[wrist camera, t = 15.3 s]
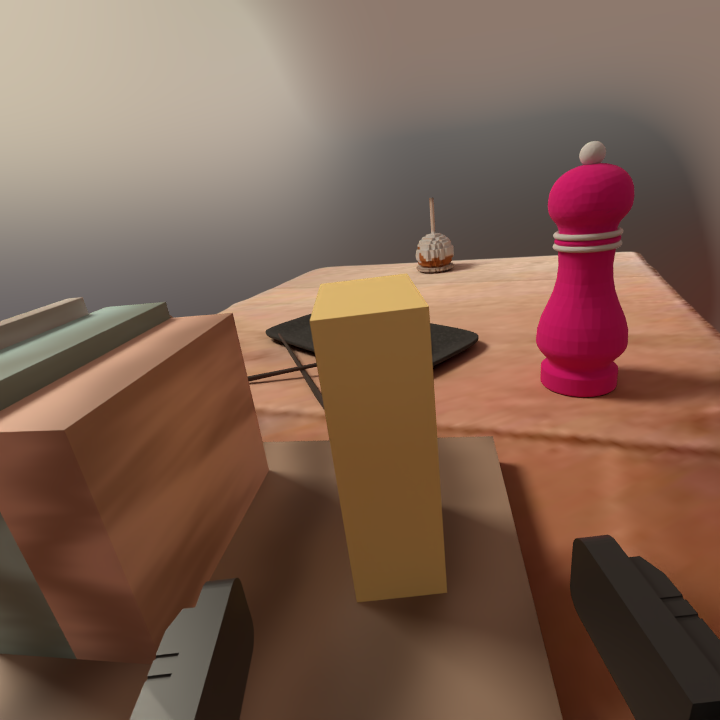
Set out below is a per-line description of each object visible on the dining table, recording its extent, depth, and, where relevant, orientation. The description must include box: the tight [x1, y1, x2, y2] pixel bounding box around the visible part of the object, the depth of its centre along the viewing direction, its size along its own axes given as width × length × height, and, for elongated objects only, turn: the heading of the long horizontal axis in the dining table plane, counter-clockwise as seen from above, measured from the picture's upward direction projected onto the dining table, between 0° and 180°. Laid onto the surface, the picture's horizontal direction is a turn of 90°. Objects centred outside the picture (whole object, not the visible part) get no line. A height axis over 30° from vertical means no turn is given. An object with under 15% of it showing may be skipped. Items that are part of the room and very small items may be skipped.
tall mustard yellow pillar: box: [310, 274, 447, 602], centre depth 20 cm, size 4×6×13 cm, turn 1°
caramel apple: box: [416, 198, 454, 273], centre depth 94 cm, size 8×8×15 cm
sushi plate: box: [248, 314, 478, 409], centre depth 53 cm, size 29×30×4 cm
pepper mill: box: [536, 141, 634, 397], centre depth 37 cm, size 7×7×20 cm
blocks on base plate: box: [0, 297, 563, 720], centre depth 21 cm, size 24×20×15 cm
